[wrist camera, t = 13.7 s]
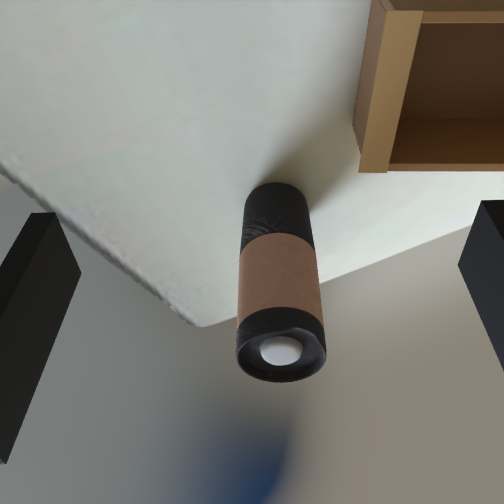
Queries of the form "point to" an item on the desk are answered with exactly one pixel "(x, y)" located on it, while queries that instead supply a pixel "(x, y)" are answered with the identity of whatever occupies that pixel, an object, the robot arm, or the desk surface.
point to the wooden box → (432, 87)
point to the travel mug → (278, 288)
